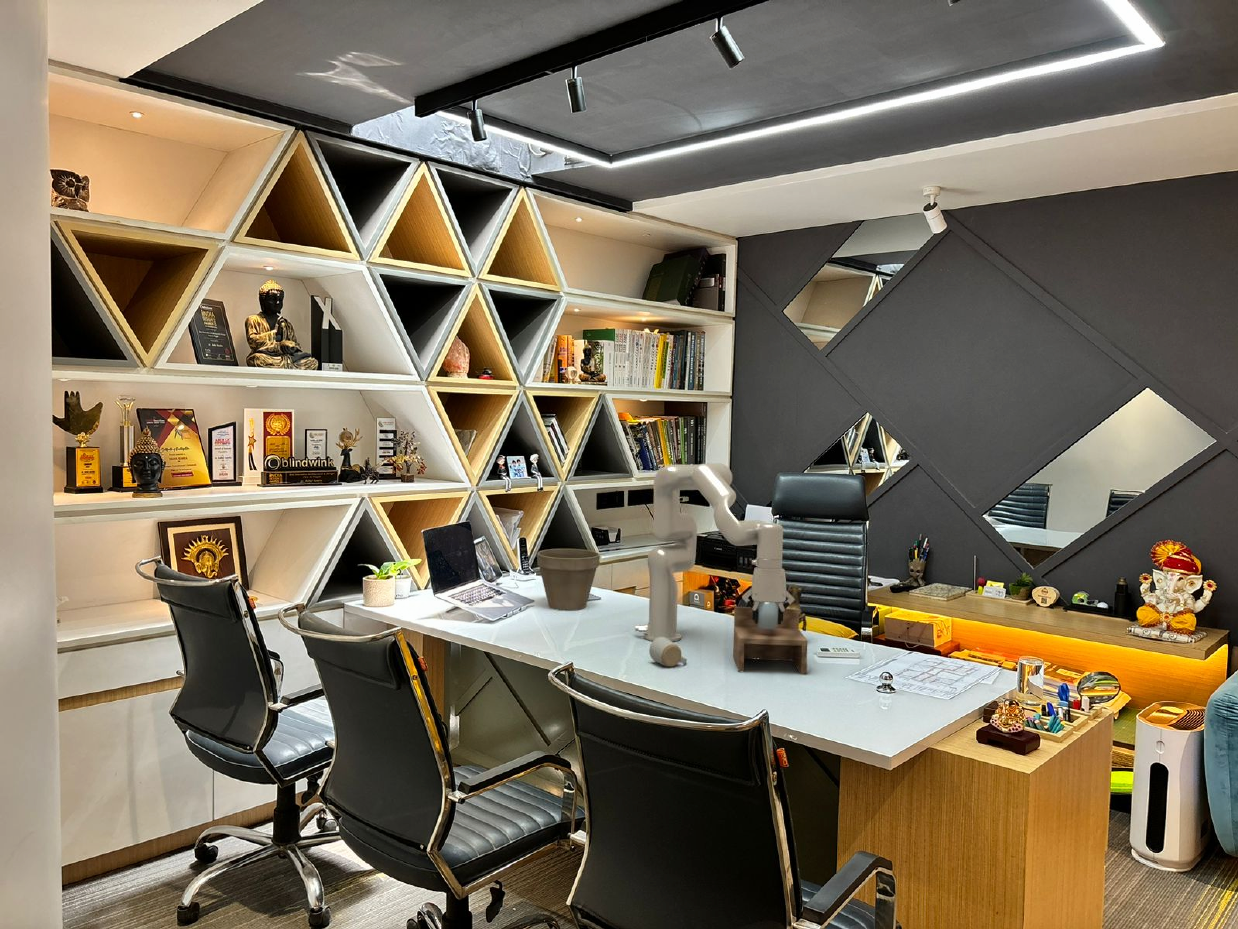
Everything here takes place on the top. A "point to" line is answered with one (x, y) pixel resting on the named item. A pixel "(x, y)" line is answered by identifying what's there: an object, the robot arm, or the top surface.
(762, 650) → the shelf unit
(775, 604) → the grey cylinder
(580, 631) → the top surface
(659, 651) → the ceramic mug
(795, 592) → the figurine
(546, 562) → the plant pot
